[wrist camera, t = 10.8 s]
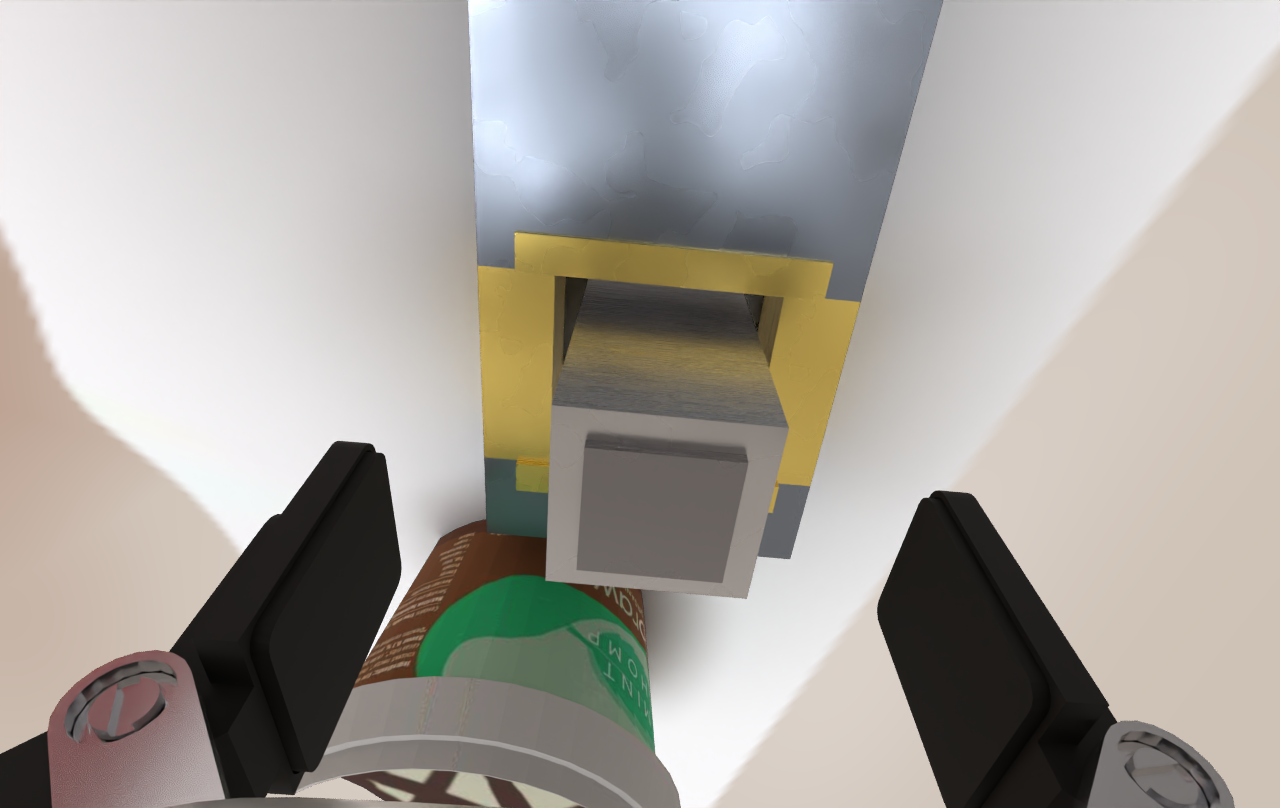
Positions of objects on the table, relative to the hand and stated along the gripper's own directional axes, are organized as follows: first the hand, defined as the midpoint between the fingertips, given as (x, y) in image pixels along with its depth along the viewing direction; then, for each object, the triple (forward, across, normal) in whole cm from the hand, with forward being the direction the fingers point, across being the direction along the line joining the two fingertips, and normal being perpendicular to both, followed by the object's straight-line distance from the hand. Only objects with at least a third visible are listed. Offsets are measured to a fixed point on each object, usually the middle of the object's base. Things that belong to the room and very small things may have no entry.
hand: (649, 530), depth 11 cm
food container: (+10, +2, +11) cm, 15 cm away
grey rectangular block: (+10, 0, +1) cm, 10 cm away
